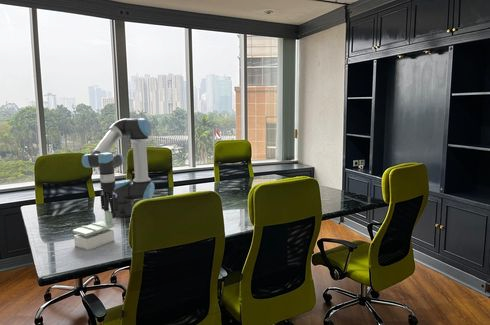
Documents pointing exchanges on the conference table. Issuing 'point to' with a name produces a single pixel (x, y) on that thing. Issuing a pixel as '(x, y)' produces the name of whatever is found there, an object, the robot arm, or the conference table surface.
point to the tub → (94, 239)
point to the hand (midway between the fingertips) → (110, 222)
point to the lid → (96, 226)
